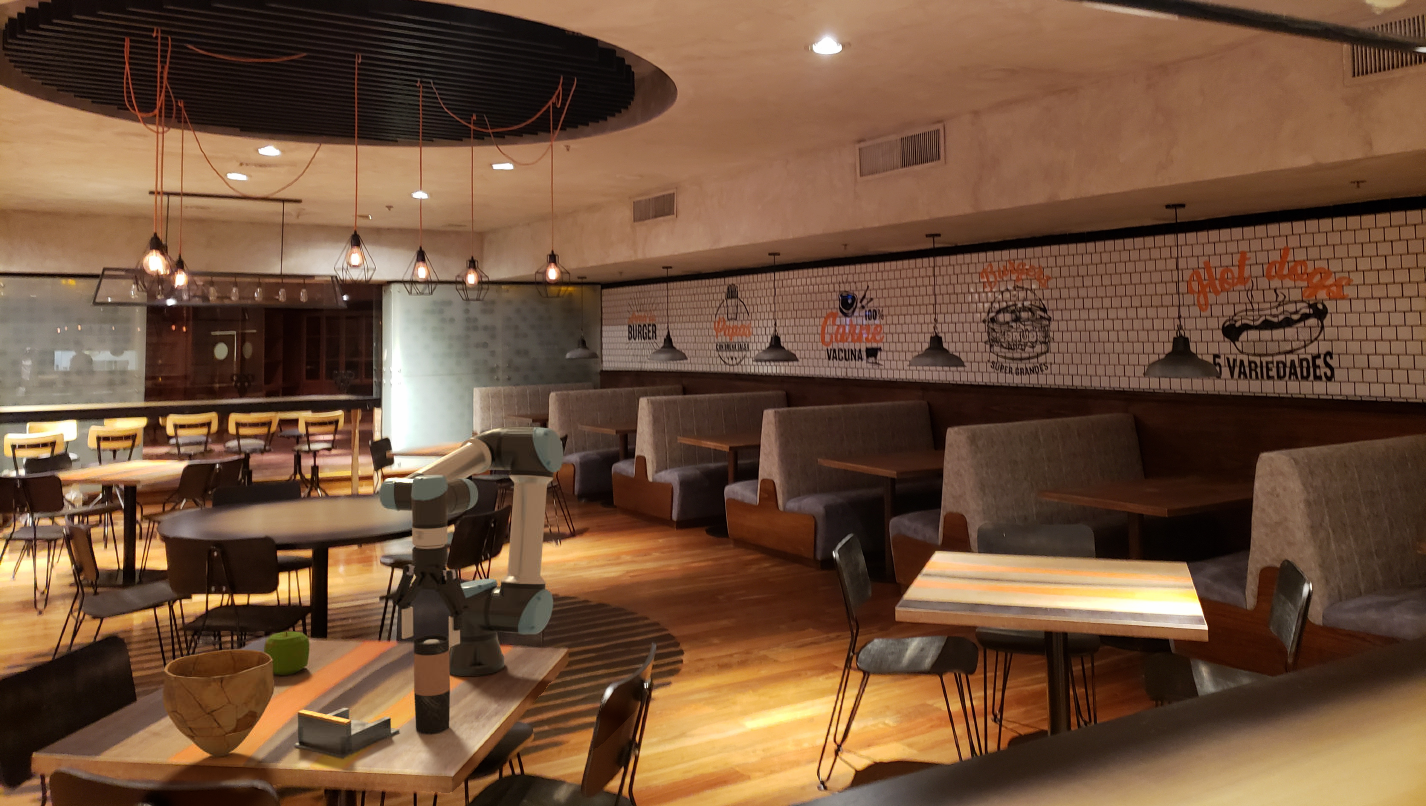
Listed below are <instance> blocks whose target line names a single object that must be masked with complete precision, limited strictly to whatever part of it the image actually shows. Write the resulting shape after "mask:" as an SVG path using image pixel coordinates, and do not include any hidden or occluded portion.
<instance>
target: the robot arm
mask: <svg viewBox="0 0 1426 806" xmlns="http://www.w3.org/2000/svg"><path fill="white" fill-rule="evenodd" d="M563 463H564V448H563V444H562V440H561V439H560V436H559V435H558V433H557V432H556V431H555V430H553V429H552V428H546V427H540V426H534V427H533V426H532V427H529V426H528V427H526V426H525V427H522V426H519V427H518V426H517V427H516V426H515V427H514V426H500V427H495V428H491V429H488V430H486V431H484V432H480V433H478V434H476V435H474V436H472V437H470V438H468V439H466V440H465V441H463V442H462V443H461V445H460V447H459V448H458V449H456V450H454V451H452V452H450V453H448V454H446V455H444V456H443V457H440V458H438V459H437V460H435V461H432V462H431V463H430V464H428V465H425V466H424V467H422V468H420V469H418V470H416V471H414V472H412V473H411V474H409V475H406V476H404V477H398V476H395V477H390V478H389V477H388V478H386V479H385V480H384V481H383V482H382V483H381V485H380V488H379V494H378V496H379V503H380V504H381V506H382V507H383V508H385V509H386V510H391V511H392V510H394V511H397V512H400V511H403V512H406V511H407V512H411V515H412V517H411V519H412V523H411V528H412V529H411V533H412V535H411V537H412V538H411V540H412V545H413V547H412V551H411V553H412V554H411V557H412V558H411V560H412V561H411V562H412V563H410V564H405V565H403V566H402V576H401V578H400V581H399V583H398V586H397V588H396V591H395V593H394V595H393V598H392V600H391V601H392V602H391V603H392V605H394V606H397V607H398V609H399V621H400V623H401V639H408V638H411V637H413V636H414V607H412V602H414V600H415V599H416V597H417V596H418V594H419V593H420V591H421V590H423V589H425V588H426V589H427V588H428V589H431V590H434V591H435V592H437V593H438V595H439V596H440V597H441V599H442V601H443V603H444V604H445V606H446V607H447V608H446V609H448V611H449V612H450V615H449V616H448V638H449V670H450V675H453V676H459V677H479V676H486V675H490V674H491V675H492V674H495V673H496V672H497V673H498V672H499V671H501V670H503V668H505V656H504V654H503V651H502V649H501V644H500V642H499V638H498V632H500V633H512V634H519V635H522V636H523V635H538V634H539V633H541V632H542V631H543V630H544V629H545V628H546V626H547V624H548V623H549V620H550V619H551V616H552V613H553V607H554V598H553V594H552V592H551V591H550V590H548V589H546V581H545V580H544V578H543V577H542V576H541V572H542V571H541V570H542V561H543V560H542V559H543V548H544V547H543V543H544V533H545V532H544V531H545V530H544V529H545V517H546V516H545V515H546V505H547V504H546V502H547V489H548V487H547V486H548V485H549V483H551V482H552V481H553V480H554V474H555V473H556V472H559V471H560V470H561V468H562V465H563ZM491 470H496V471H497V470H498V471H499V470H500V471H503V470H504V471H509V474H508V476H509V478H510V479H511V481H512V482H513V484H514V486H513V498H512V510H511V511H512V512H511V524H510V533H509V534H510V537H509V548H508V549H509V550H508V561H507V562H508V563H507V564H508V565H507V573H506V574H505V576H504V577H503V578H502V579H501V580H500V586H498V582H497V580H496V579H494V578H482V579H476V580H470V581H465V582H462V583H461V581H460V579H459V570H458V569H457V568H454V569H447V567H446V566H447V565H446V564H447V562H448V559H449V557H448V555H449V553H448V551H449V550H448V548H449V547H448V546H447V545H446V544H448V542H449V541H448V539H449V535H448V515H451V514H457V513H463V512H466V511H468V510H470V509H472V508H473V507H474V506H475V505H476V504H477V502H478V498H479V491H478V488H477V485H476V484H475V483H474V481H472V480H471V479H468V478H469V477H470V476H472V475H474V474H476V475H477V474H483V473H485V472H486V471H491ZM414 576H415V578H414ZM413 579H414V580H413ZM422 588H423V589H422Z"/></svg>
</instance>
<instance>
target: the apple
mask: <svg viewBox="0 0 1426 806" xmlns="http://www.w3.org/2000/svg"><path fill="white" fill-rule="evenodd" d="M310 645H311V644H310V641H309V636H307V635H306V634H305V633H303V632H300V631H288V630H286V631H281V632H277V633H274V634H272V635H270V636H269V637H268V638H267V639H266V640H265V642H264V647H263V652H264V653H266V654H268V655H270V657H271V658H272V659H273V661H272V663H273V675H277V676H290V675H293V674H296V673H298V672H300V671H301V670H302V669H304V668H305V667H307V665H308V663H309V657H310Z"/></svg>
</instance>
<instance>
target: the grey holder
mask: <svg viewBox="0 0 1426 806" xmlns="http://www.w3.org/2000/svg"><path fill="white" fill-rule="evenodd" d="M391 719H392V718H391V717H389V716H384V717H381V718H379V719H377V720H374V721H372V722H367V721H363V720H358V719H350V708H347V707H342V708H340V709H337V710H335V711H333V712H329V713H327V714H325V713H320V712H317V711H312V710H309V709H307V710H306V709H301V710H299V711H297V739H298V740H297V741H298V742H296V743H294V748H296V749H297V748H298V749H302V750H306V751H310V752H313V753H318V754H322V755H326V756H331V757H335V758H338V759H342V760H343V759H344V758H347V757H349V756H351V755H354V754H355V753H358V752H360V751H362V750H363V749H366V748H368V747H371V746H373V745H375V744H377V743H379V742H381V741H383V740H385V739H388V738H390V737H392V736H394V735H396V734H398V733H400V729H399V728H394V727H392V720H391Z"/></svg>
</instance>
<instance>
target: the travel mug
mask: <svg viewBox="0 0 1426 806" xmlns="http://www.w3.org/2000/svg"><path fill="white" fill-rule="evenodd" d="M449 651H450V646H449V636H447V635H441V634H431V635H423V636H420V637H417V638H415V639H414V641H413V684H414V685H413V689H414V690H413V692H414V693H413V694H414V714H415V715H414V716H415V731H416V732H417V733H419V734H422V735H435V734H440V733H443V732H445V731H447V730H449V727H450V714H451V713H450V711H451V710H450V708H451V707H450V705H451V696H450V695H451V685H450V684H451V683H450V681H451V679H450V678H451V676H450V675H451V674H450V670H449Z"/></svg>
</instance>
